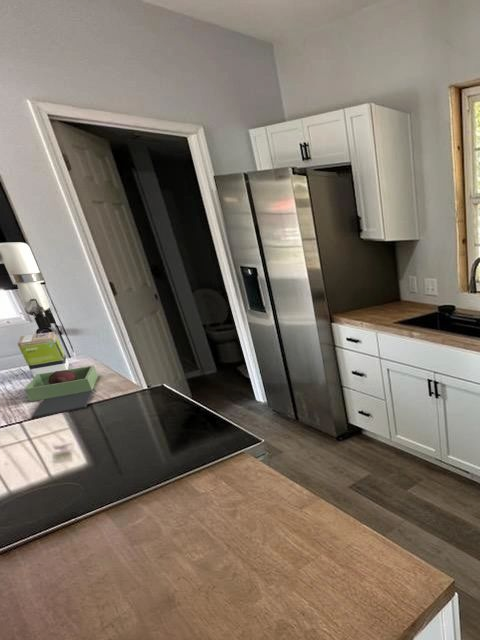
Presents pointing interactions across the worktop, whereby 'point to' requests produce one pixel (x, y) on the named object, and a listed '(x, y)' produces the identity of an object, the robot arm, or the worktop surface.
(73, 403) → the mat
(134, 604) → the worktop surface
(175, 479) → the worktop surface
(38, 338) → the tea box
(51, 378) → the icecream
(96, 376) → the basket
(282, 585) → the worktop surface
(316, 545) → the worktop surface
